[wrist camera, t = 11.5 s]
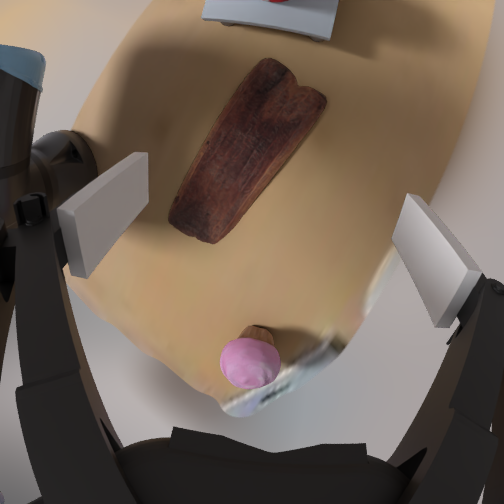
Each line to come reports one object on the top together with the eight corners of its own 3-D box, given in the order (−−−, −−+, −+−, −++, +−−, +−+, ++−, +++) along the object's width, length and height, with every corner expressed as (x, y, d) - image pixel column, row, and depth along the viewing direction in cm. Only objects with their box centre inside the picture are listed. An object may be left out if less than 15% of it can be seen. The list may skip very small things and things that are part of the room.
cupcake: (227, 347, 52) (212, 390, 43) (234, 308, 48) (217, 351, 39) (278, 359, 51) (270, 404, 42) (290, 321, 47) (284, 368, 38)
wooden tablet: (213, 259, 44) (152, 221, 41) (215, 251, 46) (158, 214, 43) (334, 100, 32) (263, 51, 30) (331, 100, 34) (264, 53, 32)
